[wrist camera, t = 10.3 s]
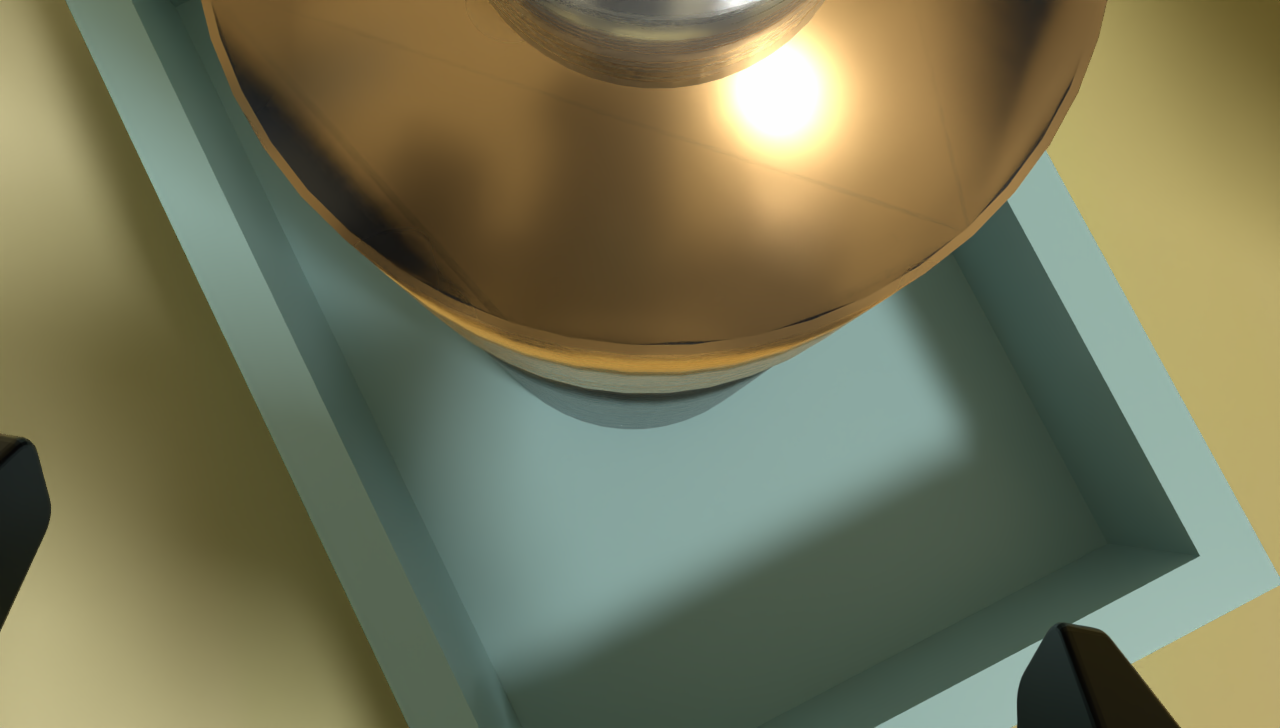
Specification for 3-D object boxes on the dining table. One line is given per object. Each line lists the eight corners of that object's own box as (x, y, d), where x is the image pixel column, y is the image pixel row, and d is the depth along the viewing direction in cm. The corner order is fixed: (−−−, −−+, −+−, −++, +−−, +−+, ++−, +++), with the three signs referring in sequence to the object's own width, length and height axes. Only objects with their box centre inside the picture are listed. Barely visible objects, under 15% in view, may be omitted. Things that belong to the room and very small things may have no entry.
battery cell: (848, 343, 18) (1408, 26, 5) (560, 488, 18) (404, 532, 5) (701, 64, 19) (891, -871, 6) (417, 202, 18) (-69, -450, 5)
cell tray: (1159, 563, 19) (1283, 583, 15) (548, 884, 18) (529, 983, 14) (709, -272, 20) (726, -431, 16) (125, 0, 19) (15, -105, 16)
